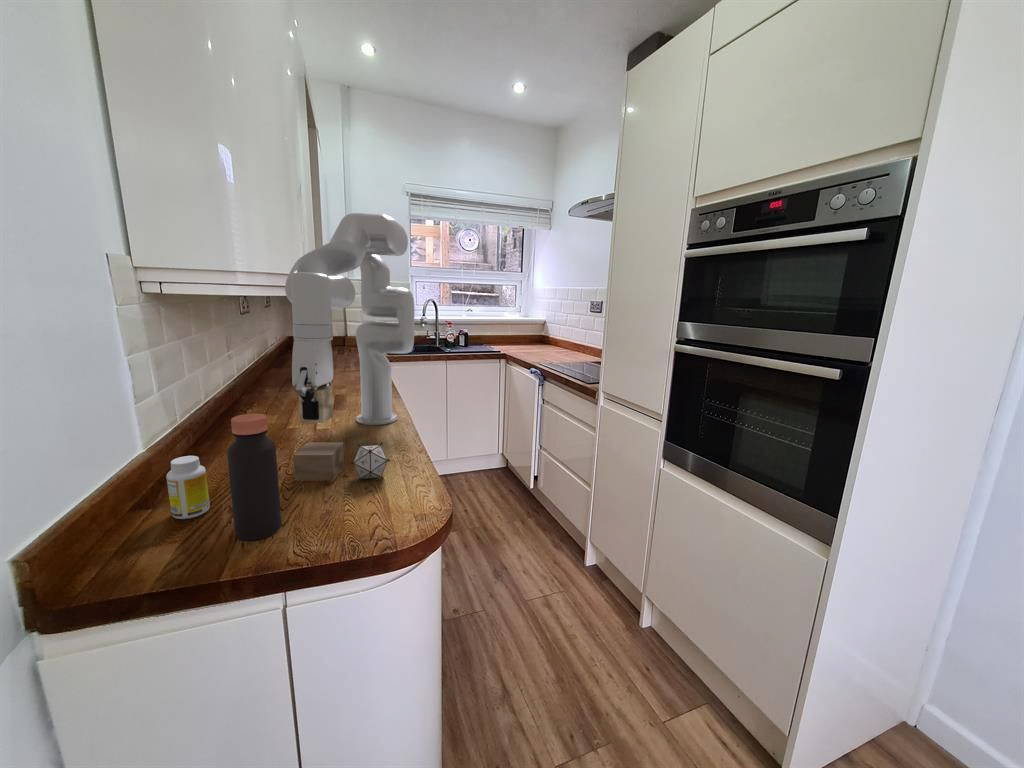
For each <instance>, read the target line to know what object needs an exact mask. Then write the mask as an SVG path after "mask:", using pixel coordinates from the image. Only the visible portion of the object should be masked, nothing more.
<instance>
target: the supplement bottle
mask: <svg viewBox="0 0 1024 768" xmlns="http://www.w3.org/2000/svg"><path fill="white" fill-rule="evenodd" d="M165 477H166V485H167V491H168V493H167V494H168V498H169V506H170V512H171V513H170V514H171V516H172V517H173V518H174V519H178V520H186V519H187V520H188V519H193V518H196V517H197V518H198V517H199V516H201V515H204V514H205V513H206V512H207V511H209V509H210V506H211V504H210V496H209V495H210V493H209V487H208V486H209V485H208V479H207V470H206V467H205V466H203V465H201V463H200V458H199V456H197V455H186V456H185V455H184V456H179V457H176V458H174V459H172V460H171V461H170V470H169V471H168V472H167V474H166V476H165Z"/></svg>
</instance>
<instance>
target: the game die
mask: <svg viewBox="0 0 1024 768" xmlns="http://www.w3.org/2000/svg"><path fill="white" fill-rule="evenodd" d="M382 445H383V441H381V442H380V443H379V444H375V445H374V444H373V445H371V444H370V445H361V444H360V443H358V442H357V445H356V446H357V447H358V448H357V452H356V454H355V456H354V459H353V461H350V462H349V465H353V467H354V468H355V471H356V474H357V475H358V480H357V482H358V483H360V482H361V480H363V479H364V480H365V479H374V478H375V479H376V478H380V480H383V481H384V477H383V474H384V471H385V469H386V466H387V464H388V462H391V459H390V458H387V456H386V453H385V452H384V449H383V446H382Z"/></svg>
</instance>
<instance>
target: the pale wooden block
mask: <svg viewBox="0 0 1024 768" xmlns="http://www.w3.org/2000/svg"><path fill="white" fill-rule="evenodd" d="M306 386H307V387H312V386H311V385H306ZM307 391H310V393H311V394H312V390H307ZM297 393H298V392H297ZM316 401H318V405H319V419H318V420H304V419H303V412H302V402H301V397H300V395H299V393H298V408H299V412H298V413H299V422H300V423H310V424H311V423H313V424H315V423H317V424H318V423H319V424H324V423H326V422H327V421H329V420H330V419H332V418H334V407H333V405H334V404H333V401H334V400H333V386H319V387H317V398H316Z"/></svg>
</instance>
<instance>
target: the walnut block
mask: <svg viewBox="0 0 1024 768" xmlns="http://www.w3.org/2000/svg"><path fill="white" fill-rule="evenodd" d="M292 455H293V471H294V481H334V480H335V479H336V478H337V476H338V475H339V473H340V472H341V471H342V469H343V468H344V466H345V460H344V459H345V458H344V457H345V456H344V442H342V441H341V442H334V441H333V442H330V441H329V442H327V441H326V442H323V441H322V442H320V441H319V442H318V441H317V442H316V441H315V442H313V441H309V442H308V441H307V442H305V443H304V444H303V446H302V447H301V448H299V449H298V450H297V451H296V452H295V453H293V454H292Z"/></svg>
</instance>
